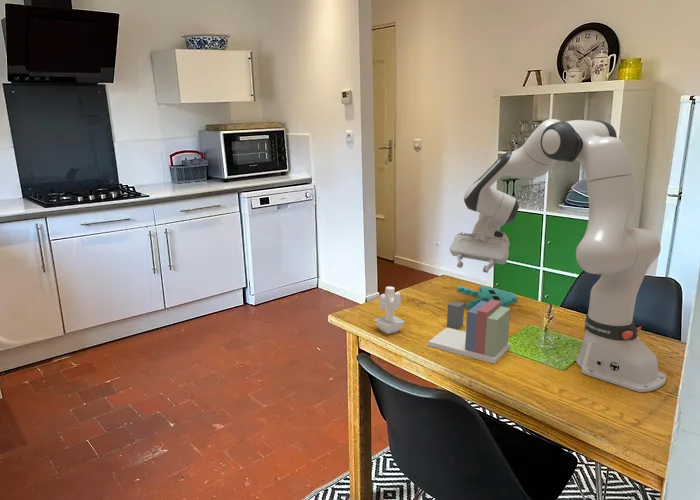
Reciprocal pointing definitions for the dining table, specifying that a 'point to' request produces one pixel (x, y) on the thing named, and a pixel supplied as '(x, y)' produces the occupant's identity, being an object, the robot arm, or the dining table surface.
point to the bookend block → (455, 315)
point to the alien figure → (488, 296)
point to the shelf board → (459, 345)
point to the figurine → (389, 311)
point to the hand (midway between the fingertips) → (471, 269)
